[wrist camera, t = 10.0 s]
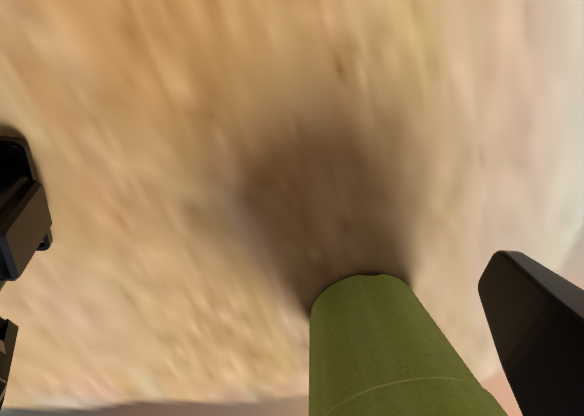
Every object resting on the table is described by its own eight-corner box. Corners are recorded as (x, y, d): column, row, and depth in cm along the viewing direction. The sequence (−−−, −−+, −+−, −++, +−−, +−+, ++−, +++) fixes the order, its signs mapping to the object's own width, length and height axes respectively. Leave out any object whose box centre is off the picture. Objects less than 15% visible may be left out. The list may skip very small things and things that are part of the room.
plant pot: (390, 370, 33) (446, 544, 24) (251, 343, 30) (254, 537, 20) (485, 268, 27) (606, 448, 18) (325, 218, 24) (377, 412, 15)
